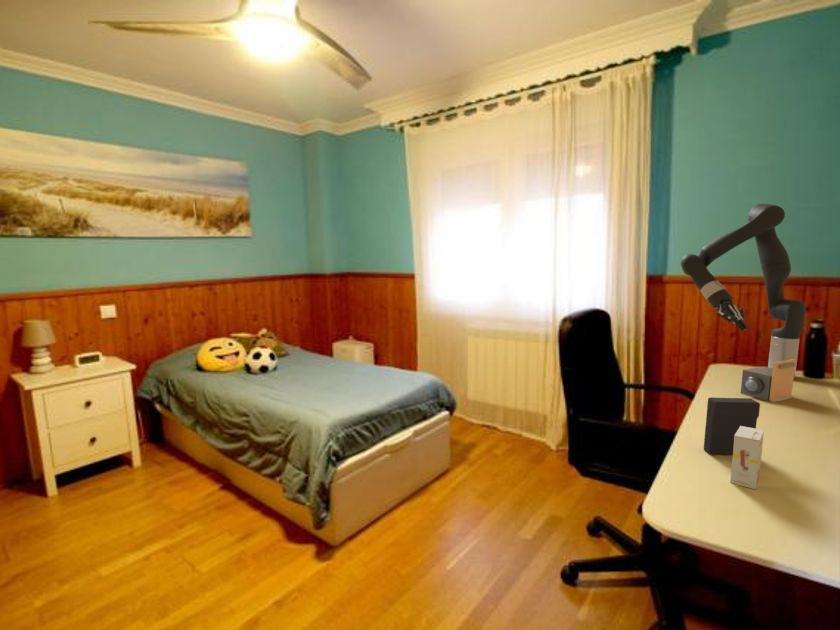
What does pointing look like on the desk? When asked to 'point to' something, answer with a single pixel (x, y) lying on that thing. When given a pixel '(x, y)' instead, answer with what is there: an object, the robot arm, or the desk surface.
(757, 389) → the camera housing
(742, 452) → the ink box
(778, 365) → the side door
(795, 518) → the desk surface
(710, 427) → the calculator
